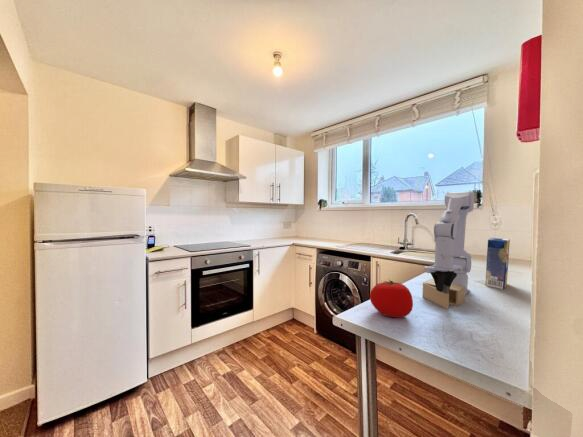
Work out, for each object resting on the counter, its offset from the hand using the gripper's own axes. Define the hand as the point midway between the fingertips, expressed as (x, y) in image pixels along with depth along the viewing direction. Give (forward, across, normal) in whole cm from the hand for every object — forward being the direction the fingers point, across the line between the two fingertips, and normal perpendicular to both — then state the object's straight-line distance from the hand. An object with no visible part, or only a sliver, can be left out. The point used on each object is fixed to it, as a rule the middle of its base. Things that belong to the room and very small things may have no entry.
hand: (442, 290), depth 89 cm
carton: (+6, +7, +7) cm, 12 cm away
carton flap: (+6, 0, +4) cm, 8 cm away
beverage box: (+7, +47, +19) cm, 51 cm away
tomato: (+7, -22, -2) cm, 23 cm away
